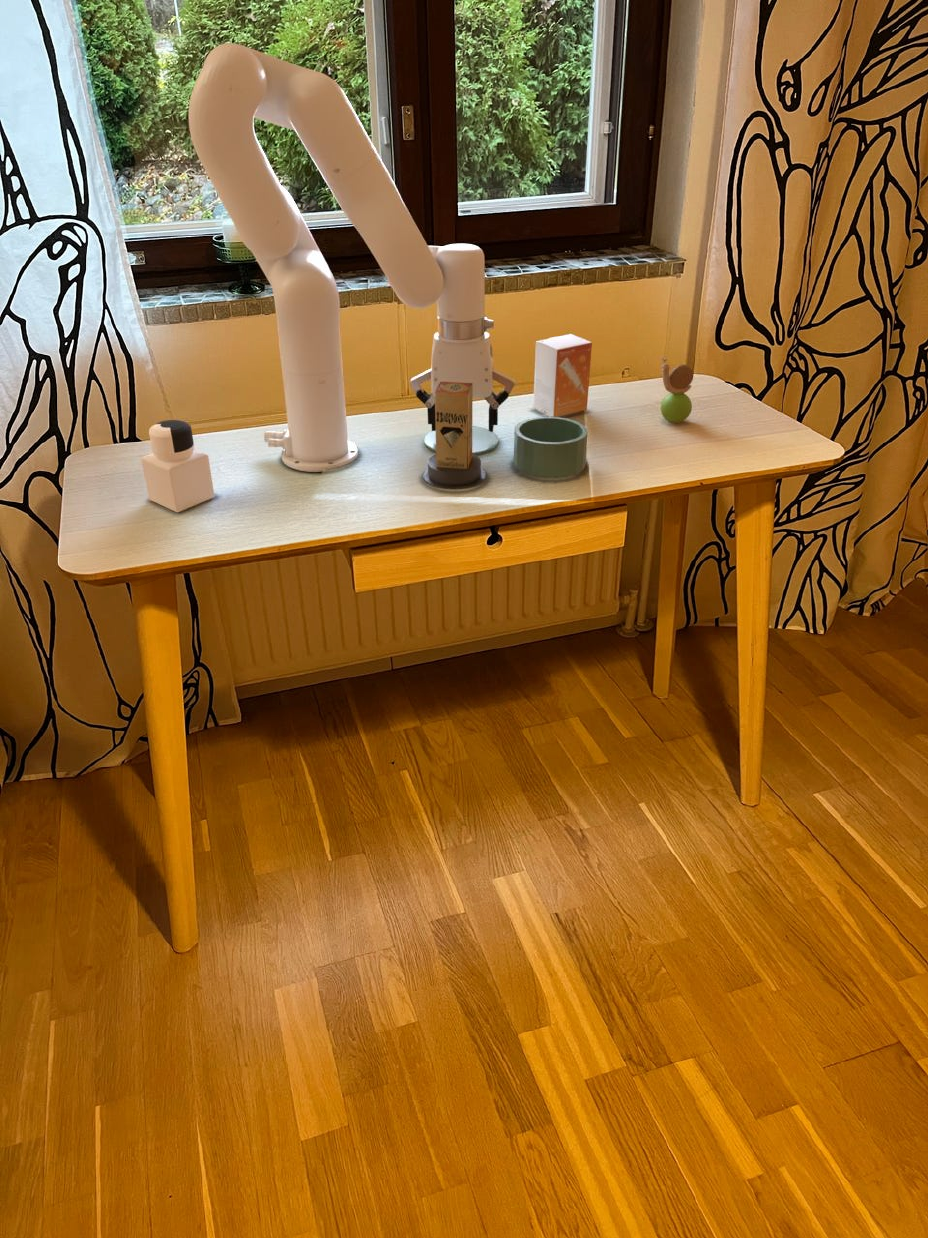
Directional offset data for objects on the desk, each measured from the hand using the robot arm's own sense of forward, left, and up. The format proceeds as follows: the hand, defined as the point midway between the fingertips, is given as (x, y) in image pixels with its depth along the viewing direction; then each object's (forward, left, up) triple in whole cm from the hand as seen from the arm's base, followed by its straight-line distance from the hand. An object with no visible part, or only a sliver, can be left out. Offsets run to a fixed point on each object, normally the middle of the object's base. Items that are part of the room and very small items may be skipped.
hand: (463, 428), depth 165 cm
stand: (0, -14, -3) cm, 14 cm away
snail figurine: (+37, +13, -3) cm, 39 cm away
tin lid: (0, 0, -2) cm, 2 cm away
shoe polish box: (0, -14, 0) cm, 14 cm away
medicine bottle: (-41, -24, -3) cm, 48 cm away
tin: (+15, -8, -3) cm, 17 cm away
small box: (+17, +17, -3) cm, 24 cm away
